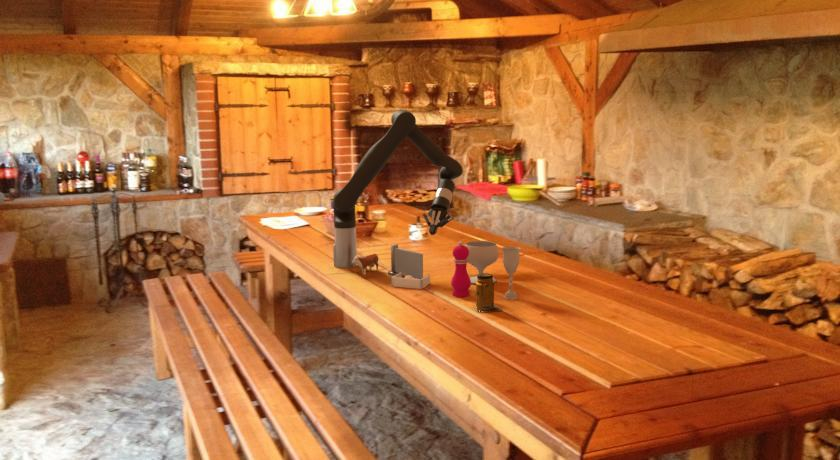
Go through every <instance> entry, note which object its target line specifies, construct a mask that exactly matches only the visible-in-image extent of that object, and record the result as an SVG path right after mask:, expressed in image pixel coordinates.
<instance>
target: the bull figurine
mask: <svg viewBox="0 0 840 460" xmlns="http://www.w3.org/2000/svg"><path fill="white" fill-rule="evenodd" d="M352 262H353V263H356V264H357V266H358V267H360V268H361V274H362V275H363V276H365V275H366V274H367V272H371V271H372V269H373V268H374V267H375V266H376V269H375V272H378V271H379V263H378V262H379V256H378V255H377V253H373V254H369V255H360V256H359V255H357V256H356V257H355V258H354V260H353V261H352ZM367 269H368V271H367ZM366 271H367V272H366Z"/></svg>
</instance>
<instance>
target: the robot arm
mask: <svg viewBox="0 0 840 460" xmlns="http://www.w3.org/2000/svg"><path fill="white" fill-rule="evenodd" d="M390 118H391V119H390V120H391V126H390V128H389V129H388V131H386V133H385V135H383V137H382V138H381V139H379V140H378V141H377V142H375V143H374V144H373V145H371V147H370V148H369V149H368V150H367V152H366V153H365V154H364V156H363V157H362V158H361V160H360V162H359V163H358V164H357V167H356V169H355V170H354V173H353V175H352V176H351V178H350V179H349V180H348V181H347V183H346V184H345V185H344V186H343V188H341V189H339V190H337V191H336V192H335V193H334V195H333V198H332V199H333V223H334V225H333V226H334V244H333V245H332V249H333V251H332V253H333V267H336V268H341V269H349V268H355V267H357V266H358V264H356V263H353V262H352V261H353V260H354V258H355V257H356V256H358V254H357V253H358V252H357V250H358V249H357V225H356V224H357V222H356V221H357V220H356V219H357V218H356V203H357V202H358V200H359V198H360V197H361V195H362V194H363V192H364V190H365V189H366V188H367V187H368V186H369V185H370V184H371V183H372V182H373V180H374V179H375V178H376V177H377V175H379V173H380V172H381V171H382V169H383V168H384V167H385V165H386V164H387V162H388V161H389V160H390V158H391V157H392V155H393V154H394V153H395V151H396V150H397V148H398V147H399V145H400V144H401V143H402V142H403V141H404V140H405V139H407V138H408V139H409V140H410V141H411V142H412V143H413V145H415V147H417V149H418V150H419V151H420V152H421V153H422V154H423V156H425V157H426V159H428V161H430V163H431V164H432V165H434V166H435V167H441V168H440V170H439V172H438V186H437V189H436V191H435V193H434V196H433V200H432V202H431V207H430V209H429V210H428V213H423V214H422V216H423V219H424V220H425V223H426V224H427V226H428V227H429V229H428V232H429V234H430V236H435V235H436V234H437V231H438V229H439V228H444V226H446V225H447V224H449V223H450V222H451V221H452V217H451V215H450V214H449V210H450V206H451V204H452V200H453V194H454V190H455V187H456V186H455V182H454V181H453V180H455V179H457V178H460V177H461V176H462V175H463V172H464V171H463V166H462V164H461V163H460V162H459V161H458V160H456V159H455V158H453V157H451V156H450V155H448V154H446V152H445V151H444V150H442V148H441V147H440V146H439V145H438V144H437V143H436V142H434V140H432V139H431V138H430V137H429V136H428V135H427V134H426V133H424V132H423V131H422V129H420V127H419V126H418V124H417V123H416V122H417V120H416V116H415V114H413V113H412V112H410V111H409V110H406V109H397V110H396V111H394V112H393V113H392V115H391V117H390ZM406 137H407V138H406ZM429 219H430V220H429Z"/></svg>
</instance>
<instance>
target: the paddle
mask: <svg viewBox="0 0 840 460" xmlns="http://www.w3.org/2000/svg"><path fill="white" fill-rule="evenodd" d="M390 267H391V269H390V271H392V272H397V273H400V272H402V276H403V275H404V276H407V275H410V276H412V277H413V279H422V278H423V277H424V253H420V252H416V251H411V250H409V249H404V248H401V247H399V244H398V243H397V244H395V243H393V244H390Z"/></svg>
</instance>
